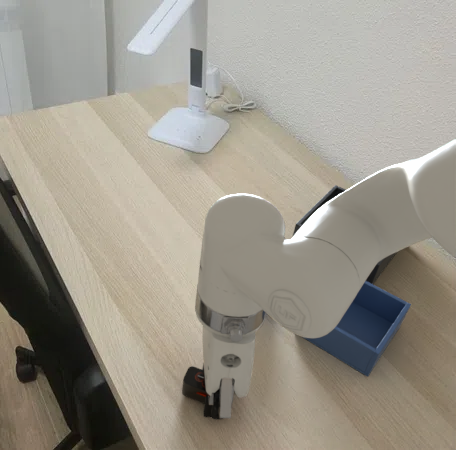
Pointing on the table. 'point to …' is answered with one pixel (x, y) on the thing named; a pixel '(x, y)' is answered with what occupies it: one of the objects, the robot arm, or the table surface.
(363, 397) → the table surface
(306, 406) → the table surface
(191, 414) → the table surface
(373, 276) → the charcoal bin
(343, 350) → the blue bin
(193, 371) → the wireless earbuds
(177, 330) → the table surface
